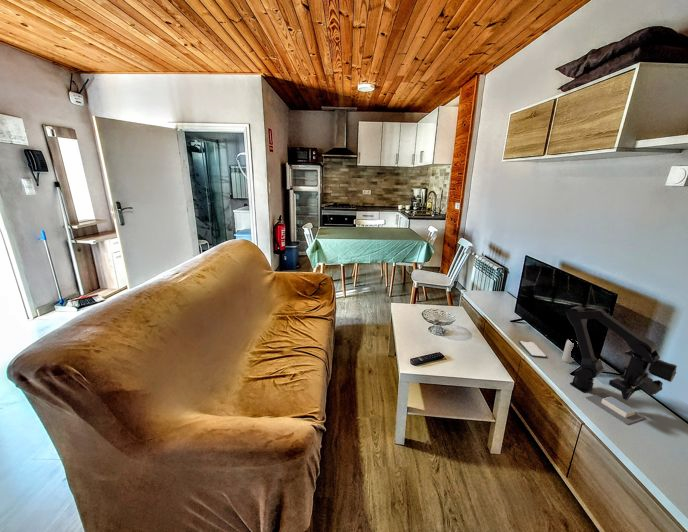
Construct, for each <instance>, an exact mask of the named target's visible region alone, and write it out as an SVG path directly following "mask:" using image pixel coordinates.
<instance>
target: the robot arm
mask: <svg viewBox="0 0 688 532" xmlns="http://www.w3.org/2000/svg"><path fill="white" fill-rule="evenodd" d="M566 317H567V319H568V321H569V323H570V324H571V325H572V327H573V328H574V331H575V334H576V338H577V344H578V347H579V351H580V354H581V363H580V368H578V369H576V370H575V371H574V372H573V374H574V377H573V378H572V382H570V383H569V384H570V386H572V387H574V388H576V389H577V390H579V391H580V392H582V393H587V392H590V391H591V392H592V391H593V389H594V388H593V386H594V380H595V379H596V378H598V376H600V375H601V374H602V373H603V370H604V369H605V367H604V366H603V363H602V359H597V357H596V356H595V354H594V353H595V352H594V349H593V346H592V342H591V338H590V334H589V332H588V331H589V330H588V328H587V322H588V320H592V319H593V320H597V321H599V323H601V324H603V325H604V326H605V327H606V328H608V329H609V330H611V331H612V332H613V333H614V334H616V335H617V336H618V337H620V339H623V341H624V342H625V343H626V344H627V346H628V347H629V348H630V349H629V350H626V351H624V355H627V356H629V359H628V362H627V364H626V366H623V370H625V371H624V374H622V375H620V378H618V377H617V378H613V379H610V380H609V382H608V385H609V386H611V387H612V388H614V389H616V390H617V391H620V392H621V396H622V399H623V400H625V401H628V400H629V399H630V398H631V396H633V394H635V392H638V391H642V390H643V391H645V393H646V394H647V395H648V396H653V395H656V394H658V393H660V392H661V391H662V390H663V386H664V385H663V382H662V381H661V380H664V381H667V382H669V383H672V382H673V380H674V378H675V376H676V374H677V367H678V366H677V365H676V364H674V363H670V362H667V361H664V360H661V357H660V355H659V353H658V351H657V345H656V343H655V341H653V340H651V339H649V338H648V337H645V336H644V335H642V334H639V333H637V332H634V331H632V330H631V329H630V328H628V327H627V326H626V325H624V324H623V323H621V322H620V321H619V320H617V319H616V318H614V317H613V316H612V315H611V314H609V313H607V312H606V310H604V309H602V308H592V307H591V308H590V307H583V306H580V305H577V306H574V307H571V308H569V309H567V311H566ZM647 371H649V373H648V372H647ZM649 374H650V375H652V376H655V377H656V378H660V379H661V380H659V379H658V380H657V379H656V380H653V379H652V378H651V377H649Z"/></svg>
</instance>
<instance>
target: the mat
mask: <svg viewBox="0 0 688 532" xmlns="http://www.w3.org/2000/svg"><path fill="white" fill-rule="evenodd" d="M607 397H611V396H610V395H608V394H607V393H605V392H600V393H597V394H593V395H589V396H586V397H585V399H587V401H589V402H590V403H593V404H594V405H596V406H597V407H599V408H600V409H602V410H603V411H605V412H606V413H608V414H610V415H612V416H613V417H614V418H616V419H618V420H619V421H620V422H623V424H625V425H631V424H634V423H637V422H640V421H643V420H645V419H647V417H645V416H644V415H642V414H641V413H639V412H637V411H636V412H635V415H632V416H629V417H626V418H625V417H623V416H622V415H620V414H618V413H617V412H615V411H614V410H612V409H610V408H609V407H607V406H606V405H604V404H602V403H601V402H602V399H604V398H607Z"/></svg>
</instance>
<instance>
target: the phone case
mask: <svg viewBox="0 0 688 532" xmlns="http://www.w3.org/2000/svg"><path fill="white" fill-rule="evenodd" d="M518 344H519V346H521V347H522V349H524V351H525V352H526V353H527V354H528V355H529V357H532V358H539V359H547V357H548V356H547V354H546V353H545V352H543V350H542V349H541V348H539V346H537V343H535V342H534V341H528V340H519V341H518Z"/></svg>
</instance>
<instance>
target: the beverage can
mask: <svg viewBox="0 0 688 532" xmlns="http://www.w3.org/2000/svg"><path fill="white" fill-rule="evenodd" d="M573 347H574V343H572V342H571V341H570V340H569V338H568V339H566V342H565V345H564V349H563V352H562V353H563V354H562V357H561V360H562V361H563V362H564V363H567V364H572V363H573V361H574V358H572V357H571V351H572V349H573Z"/></svg>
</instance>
